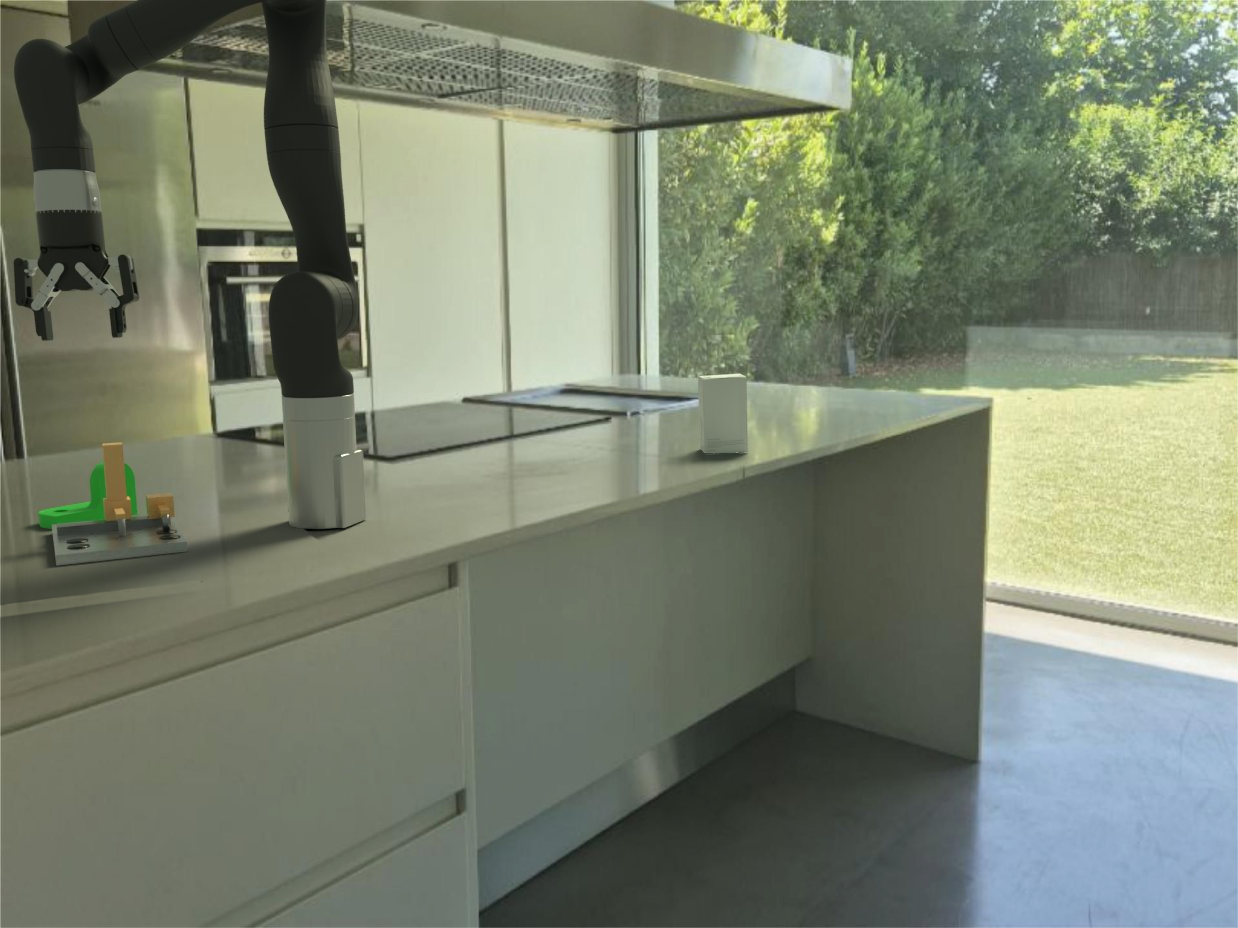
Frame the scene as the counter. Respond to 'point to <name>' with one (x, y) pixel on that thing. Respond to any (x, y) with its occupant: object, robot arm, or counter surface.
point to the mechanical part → (93, 507)
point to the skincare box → (723, 413)
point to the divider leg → (115, 486)
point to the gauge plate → (106, 544)
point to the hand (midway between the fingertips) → (82, 339)
